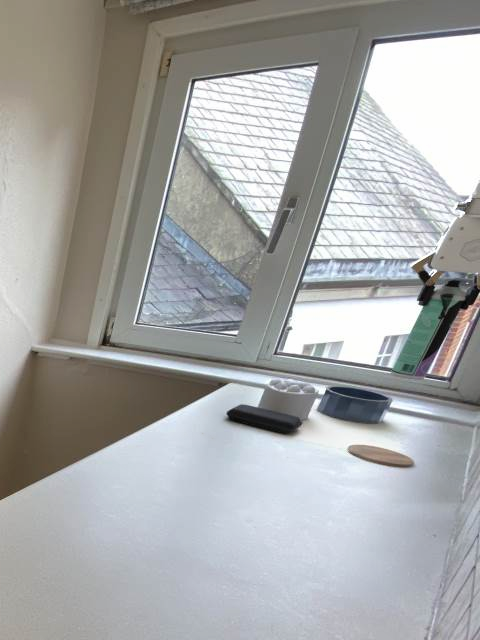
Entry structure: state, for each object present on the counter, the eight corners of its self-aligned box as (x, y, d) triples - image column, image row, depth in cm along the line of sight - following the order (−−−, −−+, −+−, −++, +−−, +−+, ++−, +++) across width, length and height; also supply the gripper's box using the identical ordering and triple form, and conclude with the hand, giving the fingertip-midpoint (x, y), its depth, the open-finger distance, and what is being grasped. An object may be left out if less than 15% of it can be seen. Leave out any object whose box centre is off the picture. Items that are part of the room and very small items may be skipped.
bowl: (395, 423, 143) (406, 401, 140) (350, 423, 141) (361, 401, 138) (345, 406, 155) (355, 385, 152) (304, 406, 153) (313, 385, 150)
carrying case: (302, 428, 136) (236, 411, 146) (308, 416, 135) (240, 400, 145) (290, 437, 130) (222, 419, 140) (295, 425, 129) (226, 407, 139)
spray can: (429, 381, 117) (481, 282, 108) (397, 377, 119) (445, 280, 110) (416, 375, 121) (465, 279, 112) (385, 371, 123) (431, 277, 114)
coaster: (426, 466, 117) (428, 463, 117) (383, 467, 116) (384, 465, 115) (375, 446, 127) (376, 444, 126) (334, 447, 125) (335, 444, 125)
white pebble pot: (312, 415, 146) (326, 384, 142) (293, 424, 139) (308, 391, 135) (267, 404, 153) (280, 374, 150) (248, 412, 147) (260, 380, 143)
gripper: (435, 208, 107) (391, 304, 115) (565, 211, 98) (507, 314, 106) (425, 209, 112) (383, 300, 120) (547, 212, 104) (493, 310, 112)
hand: (442, 306), depth 113 cm, fingers closed on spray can, 5 cm apart
